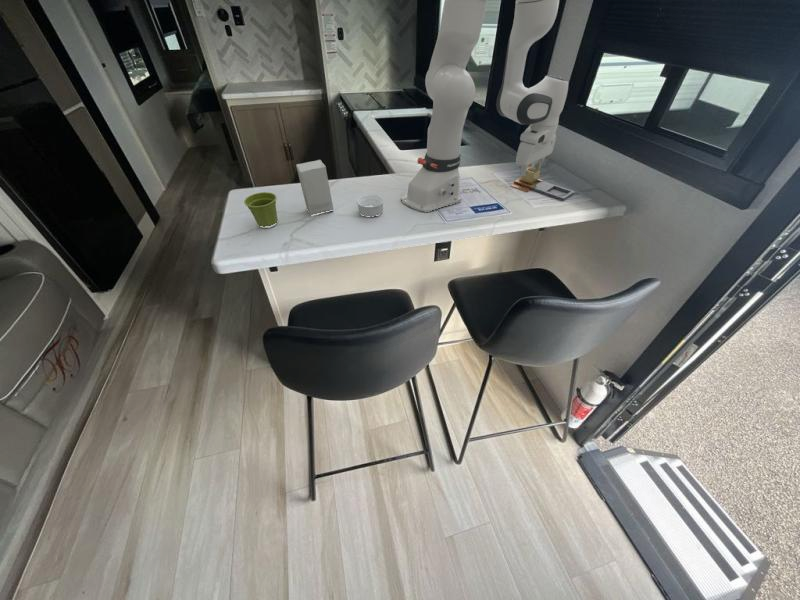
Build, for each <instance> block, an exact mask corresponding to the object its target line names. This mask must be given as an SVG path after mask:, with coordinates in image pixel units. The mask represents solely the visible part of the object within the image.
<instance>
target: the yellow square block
mask: <svg viewBox="0 0 800 600" xmlns="http://www.w3.org/2000/svg"><path fill="white" fill-rule="evenodd" d="M527 170H528V173H527V175H525V176H522V175H521V177H522V178H521V177H520V178H521V182H522V183H525V184H528V185H531V186H534V185H536V184H538V183H537V181H538V179H540V178H539V177H540V174H541V169H540V168H539V169H536V168H533V167H528V168H527Z"/></svg>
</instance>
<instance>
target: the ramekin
mask: <svg viewBox="0 0 800 600" xmlns="http://www.w3.org/2000/svg"><path fill="white" fill-rule="evenodd" d="M356 204H357V207H358V212H360V213H361V214H362V215H364V216H370V217H372V216H376V215H379V214H381V213H382V214H383V212H382V211H384V198H383V197H381V196H379V195H377V194H367V195H362V196H361V197H359V198H358V199H357V200H356ZM370 205H372V206H373V207H365V206H370ZM360 213H359V214H360ZM382 214H381V215H382ZM362 215H361V216H362ZM379 216H380V215H379Z"/></svg>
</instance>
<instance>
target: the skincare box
mask: <svg viewBox="0 0 800 600" xmlns="http://www.w3.org/2000/svg"><path fill="white" fill-rule="evenodd" d="M295 166H296V170H297V174H298V179H299V183H300V187H301V189H302V190H301V191H302V195H303V198H304V203H305V206H306V210H307V209H308V210H307V212H308V211H309V212H308V213H310V216H311V215H313V214H317V213H321V212H326V211H330V210H333V209H334V204H333V200H332V194H331V189H330V184H329V178H328V173H327V167H326V164H324V163H323V162H322V160H321V159H317V160H314V161H313V160H312V161H307V162H303V163H297V164H295Z"/></svg>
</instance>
